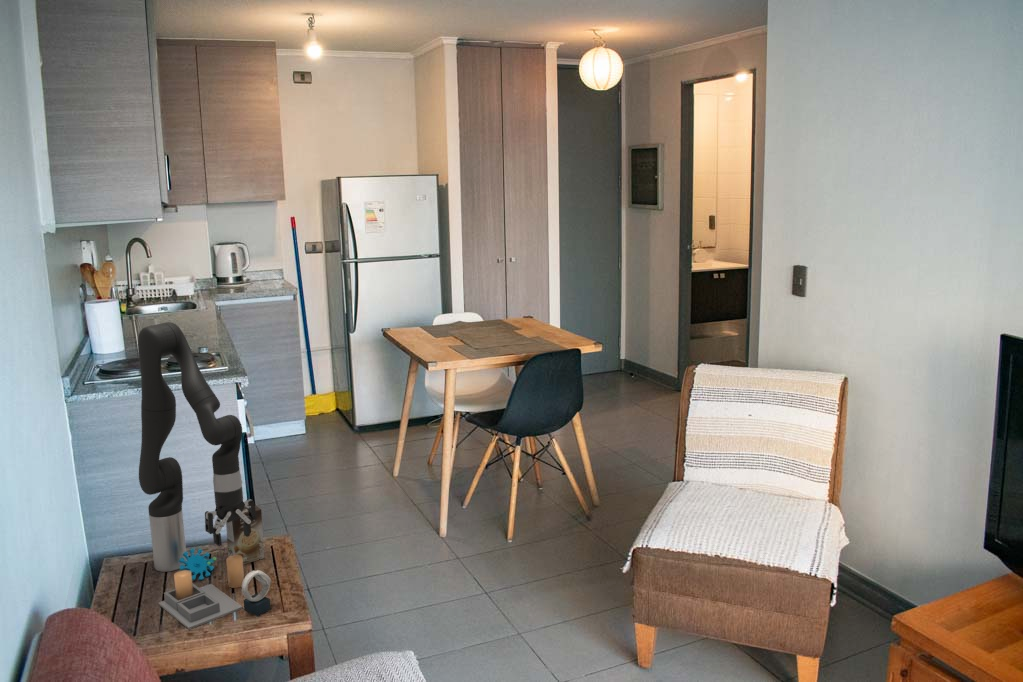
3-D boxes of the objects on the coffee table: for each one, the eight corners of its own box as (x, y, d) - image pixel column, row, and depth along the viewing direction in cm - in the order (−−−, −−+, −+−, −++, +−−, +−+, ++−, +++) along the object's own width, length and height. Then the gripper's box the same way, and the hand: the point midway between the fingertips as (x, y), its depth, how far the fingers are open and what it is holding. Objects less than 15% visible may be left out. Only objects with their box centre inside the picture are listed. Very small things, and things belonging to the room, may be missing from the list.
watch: (276, 606, 228) (273, 568, 226) (252, 619, 221) (249, 580, 219) (262, 600, 231) (259, 563, 229) (238, 613, 224) (235, 575, 222)
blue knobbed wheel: (185, 581, 239) (176, 550, 243) (178, 591, 243) (169, 560, 247) (222, 574, 247) (212, 543, 251) (215, 583, 250) (205, 553, 255)
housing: (158, 604, 230) (155, 575, 228) (211, 585, 240) (208, 557, 238) (188, 629, 217) (186, 599, 215) (242, 608, 227) (240, 579, 225)
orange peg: (225, 584, 241) (223, 558, 239) (239, 579, 244) (237, 553, 242) (232, 589, 238) (230, 563, 236) (247, 584, 241) (245, 558, 239)
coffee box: (236, 567, 251) (232, 516, 248) (228, 560, 256) (223, 510, 253) (265, 558, 257) (261, 509, 254) (256, 551, 262) (253, 503, 259)
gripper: (245, 476, 243) (249, 529, 246) (197, 490, 233) (203, 544, 236) (257, 482, 237) (262, 536, 240) (209, 496, 228) (215, 552, 231)
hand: (233, 540), depth 238 cm, fingers open, 8 cm apart
